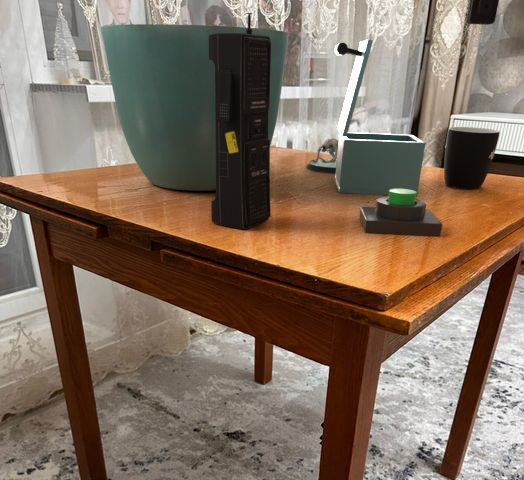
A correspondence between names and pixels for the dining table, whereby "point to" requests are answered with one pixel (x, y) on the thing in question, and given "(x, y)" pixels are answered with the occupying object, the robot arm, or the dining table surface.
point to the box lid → (353, 81)
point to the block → (399, 219)
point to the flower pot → (176, 97)
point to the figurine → (325, 165)
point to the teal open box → (378, 163)
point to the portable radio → (241, 128)
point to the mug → (468, 156)
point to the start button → (402, 196)
